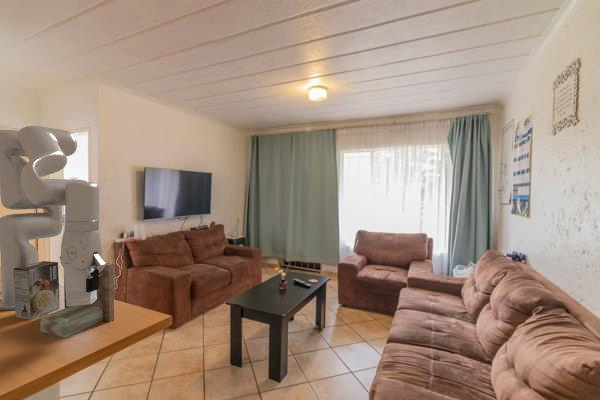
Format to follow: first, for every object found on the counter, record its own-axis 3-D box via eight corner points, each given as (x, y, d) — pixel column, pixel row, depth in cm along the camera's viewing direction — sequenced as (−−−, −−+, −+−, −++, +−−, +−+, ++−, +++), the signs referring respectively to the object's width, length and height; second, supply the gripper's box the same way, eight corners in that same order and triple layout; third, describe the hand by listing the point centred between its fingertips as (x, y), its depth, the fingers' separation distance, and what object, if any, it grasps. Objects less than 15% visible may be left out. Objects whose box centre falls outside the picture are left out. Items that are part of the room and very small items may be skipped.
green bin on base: (24, 327, 85) (22, 267, 84) (69, 309, 97) (68, 257, 96) (72, 339, 79) (71, 275, 78) (114, 319, 91) (113, 263, 90)
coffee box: (45, 305, 100) (44, 260, 99) (60, 308, 98) (59, 261, 97) (14, 317, 91) (12, 267, 90) (30, 320, 89) (29, 269, 88)
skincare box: (97, 299, 84) (96, 258, 83) (90, 305, 79) (89, 262, 79) (73, 301, 82) (71, 259, 82) (64, 307, 78) (62, 263, 77)
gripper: (45, 224, 79) (45, 287, 80) (92, 232, 73) (91, 299, 75) (74, 221, 86) (74, 279, 87) (118, 227, 81) (117, 289, 82)
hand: (82, 287), depth 81 cm, fingers closed on skincare box, 7 cm apart
